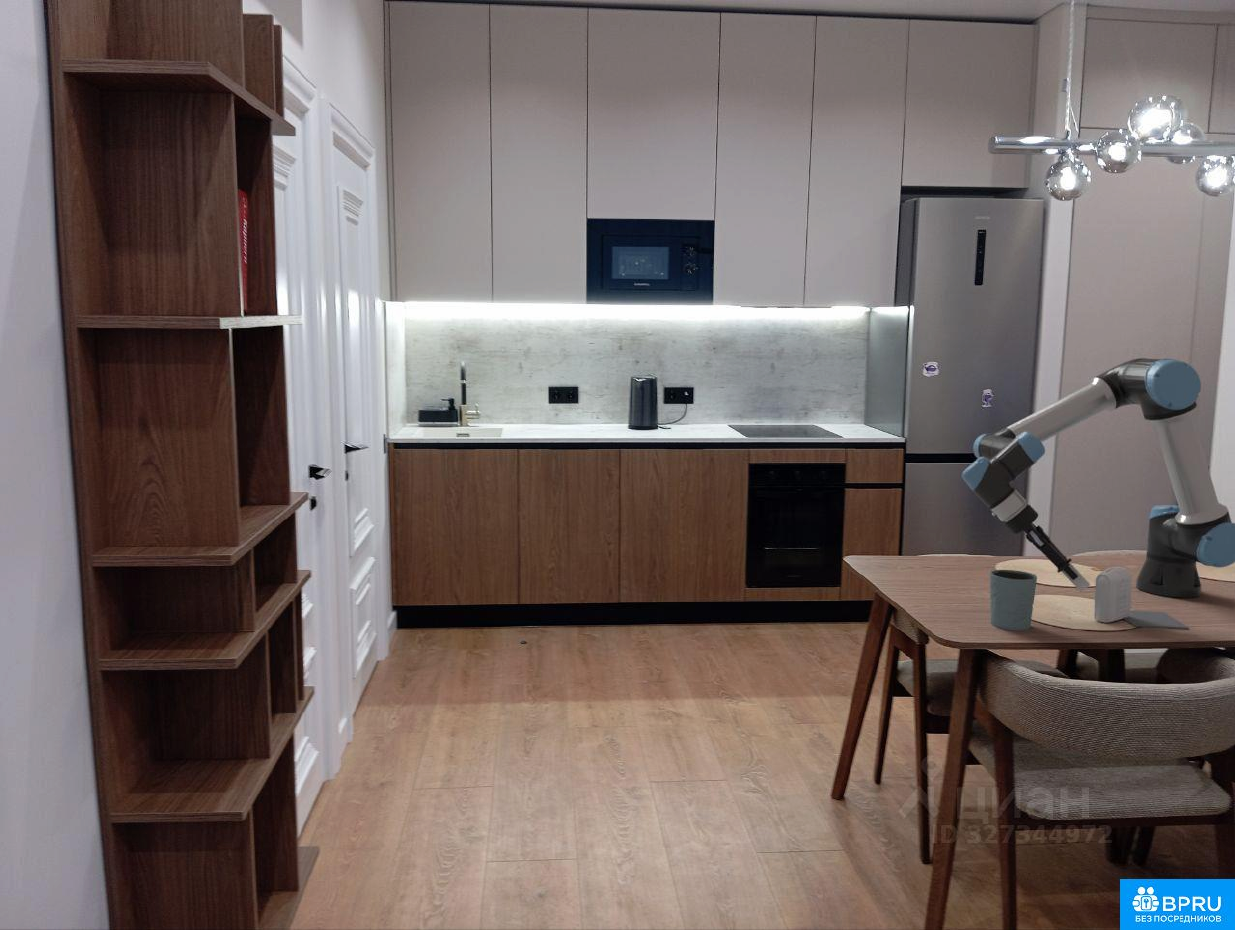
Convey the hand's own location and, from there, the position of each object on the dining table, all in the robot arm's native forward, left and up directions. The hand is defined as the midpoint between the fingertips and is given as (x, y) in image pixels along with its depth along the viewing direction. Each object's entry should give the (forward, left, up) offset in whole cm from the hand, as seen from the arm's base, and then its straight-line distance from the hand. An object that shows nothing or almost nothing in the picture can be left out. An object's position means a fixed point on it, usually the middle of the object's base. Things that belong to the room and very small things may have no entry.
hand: (1085, 587), depth 233 cm
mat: (-15, 0, -7) cm, 17 cm away
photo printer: (-6, +2, -7) cm, 10 cm away
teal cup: (+20, +11, -7) cm, 24 cm away
